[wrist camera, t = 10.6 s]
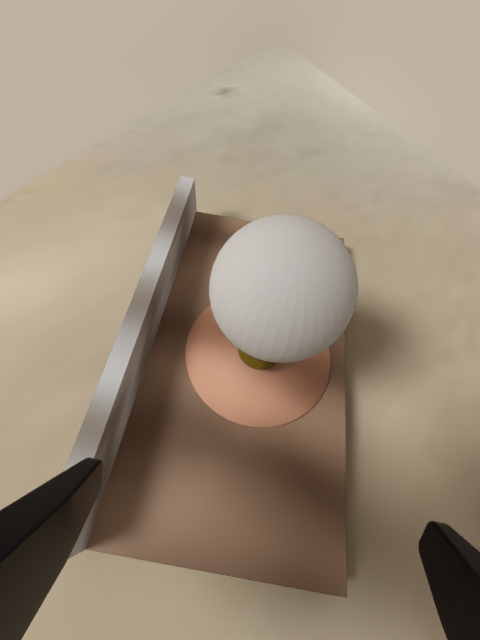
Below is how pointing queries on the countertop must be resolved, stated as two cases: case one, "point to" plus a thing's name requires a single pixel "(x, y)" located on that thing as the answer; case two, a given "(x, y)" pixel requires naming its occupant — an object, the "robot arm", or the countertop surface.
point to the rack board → (214, 433)
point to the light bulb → (283, 289)
